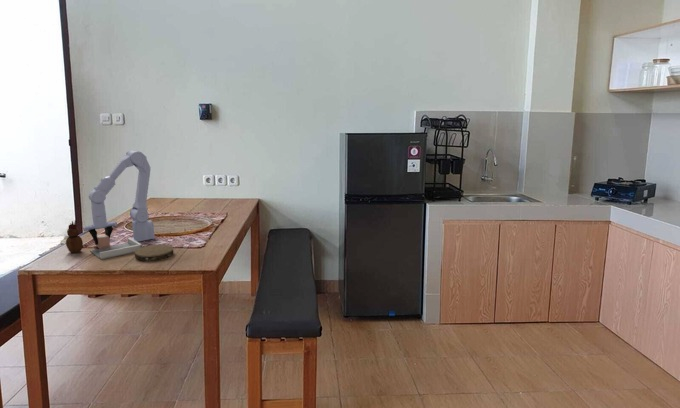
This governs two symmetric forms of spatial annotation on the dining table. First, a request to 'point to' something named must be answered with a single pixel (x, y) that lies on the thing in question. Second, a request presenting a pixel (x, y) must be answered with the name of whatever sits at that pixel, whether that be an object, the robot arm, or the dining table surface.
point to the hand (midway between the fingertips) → (102, 243)
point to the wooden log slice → (154, 253)
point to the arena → (117, 249)
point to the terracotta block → (103, 241)
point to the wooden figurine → (74, 239)
